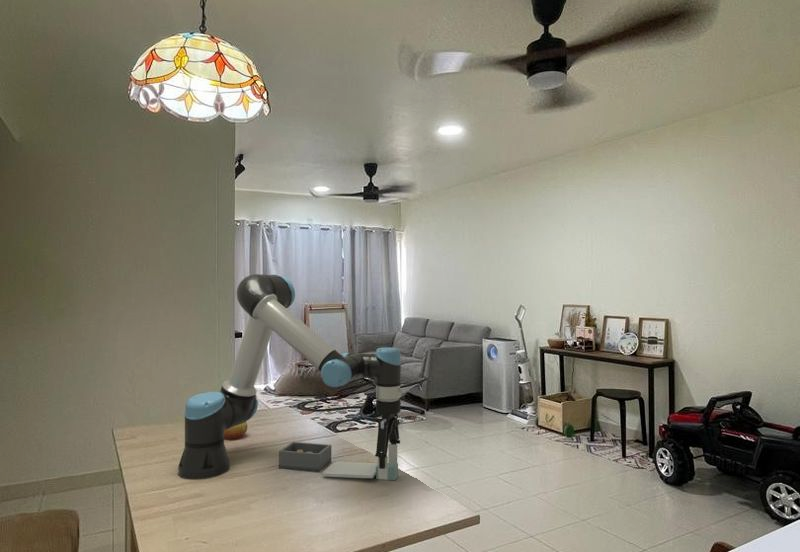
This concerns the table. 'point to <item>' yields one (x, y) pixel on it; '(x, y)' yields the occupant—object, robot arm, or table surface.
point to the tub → (305, 457)
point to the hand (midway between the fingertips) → (388, 471)
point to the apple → (236, 431)
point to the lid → (359, 470)
